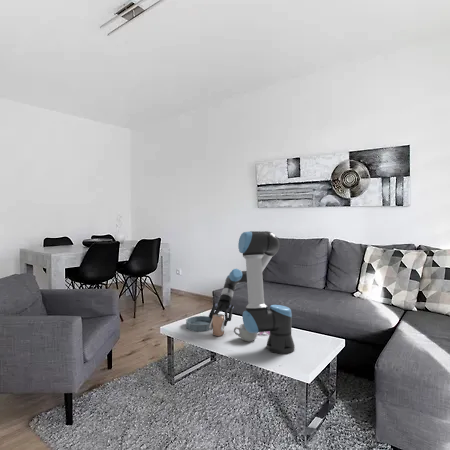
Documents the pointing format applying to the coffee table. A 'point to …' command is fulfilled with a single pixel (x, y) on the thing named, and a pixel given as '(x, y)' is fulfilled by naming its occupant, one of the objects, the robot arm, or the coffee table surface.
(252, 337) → the teacup
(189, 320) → the bowl
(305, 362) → the coffee table surface
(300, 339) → the coffee table surface
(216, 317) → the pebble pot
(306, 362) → the coffee table surface
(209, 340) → the coffee table surface
